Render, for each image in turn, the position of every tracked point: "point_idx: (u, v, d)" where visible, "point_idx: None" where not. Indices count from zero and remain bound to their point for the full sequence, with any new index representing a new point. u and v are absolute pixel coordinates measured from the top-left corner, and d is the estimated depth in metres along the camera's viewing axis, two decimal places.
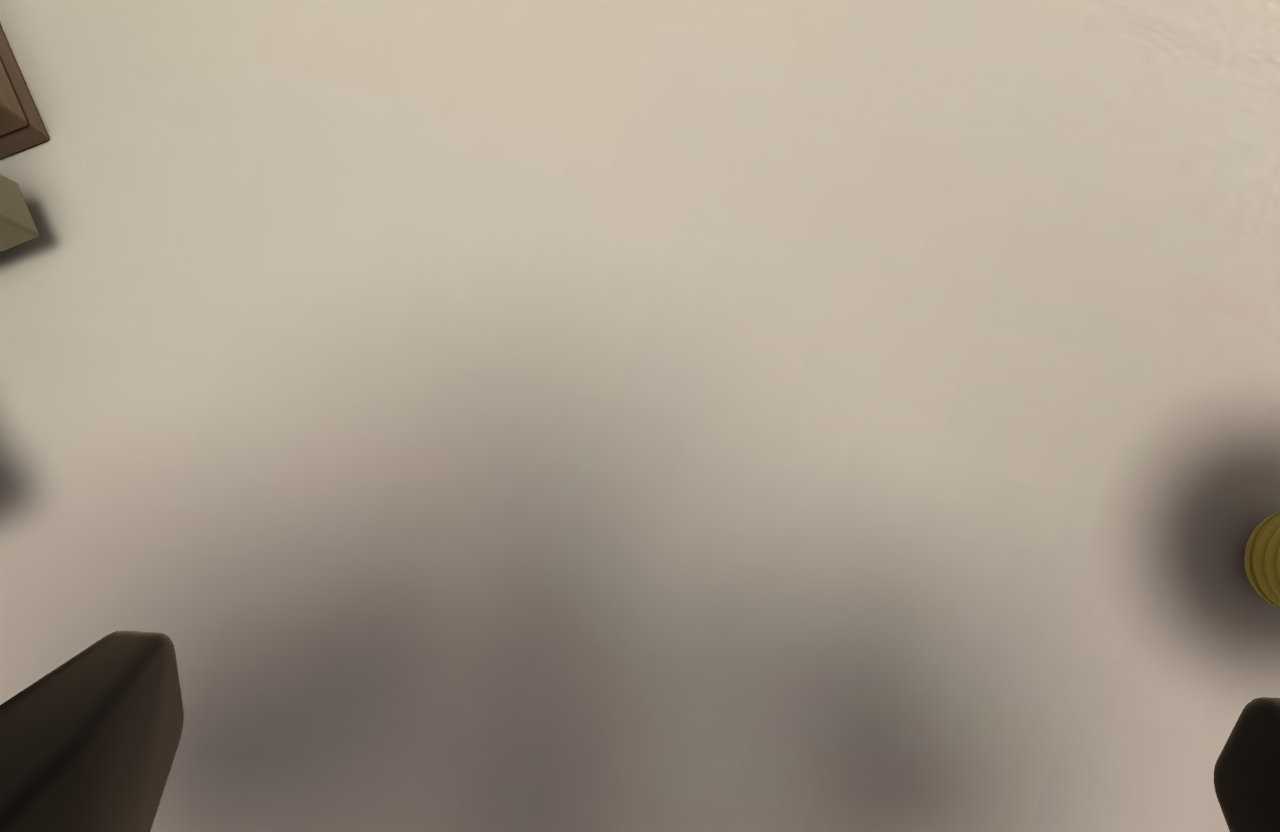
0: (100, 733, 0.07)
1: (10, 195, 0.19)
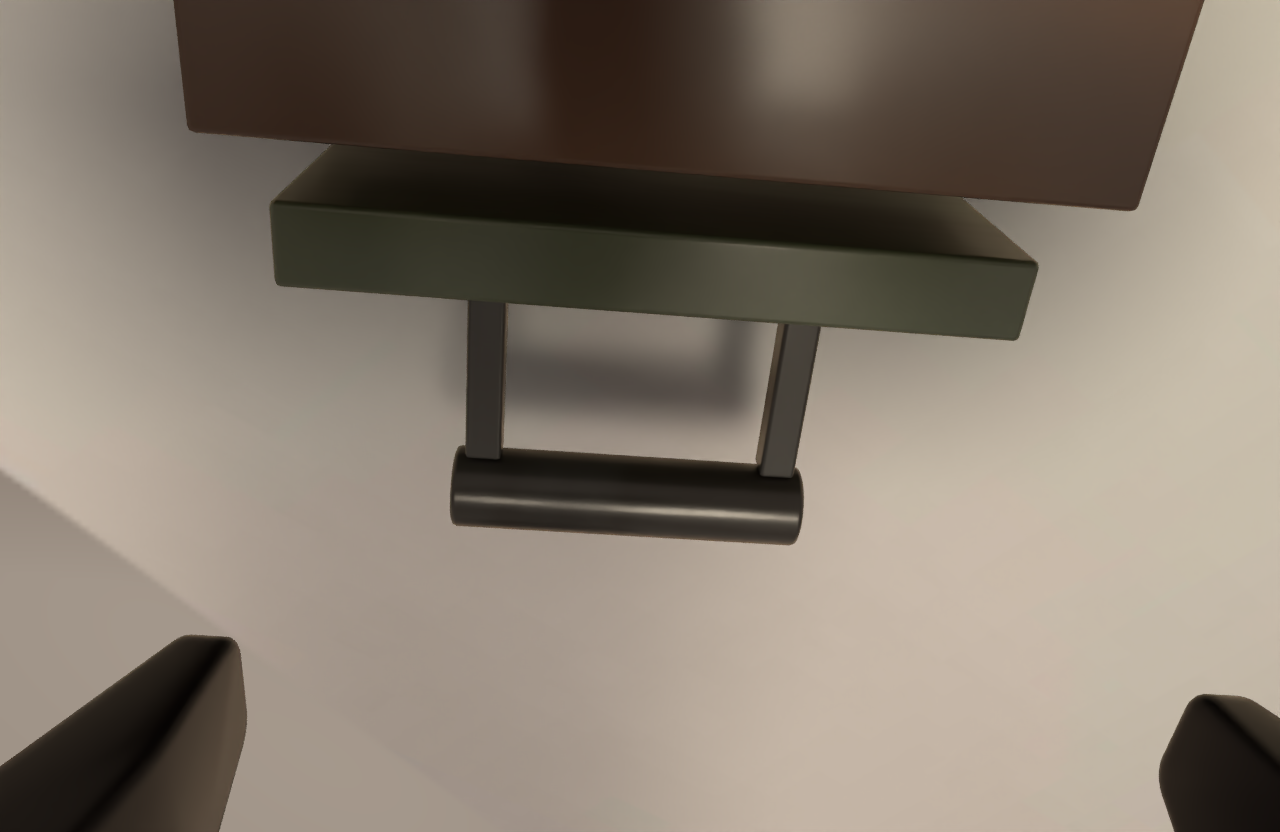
0: (178, 737, 0.07)
1: None
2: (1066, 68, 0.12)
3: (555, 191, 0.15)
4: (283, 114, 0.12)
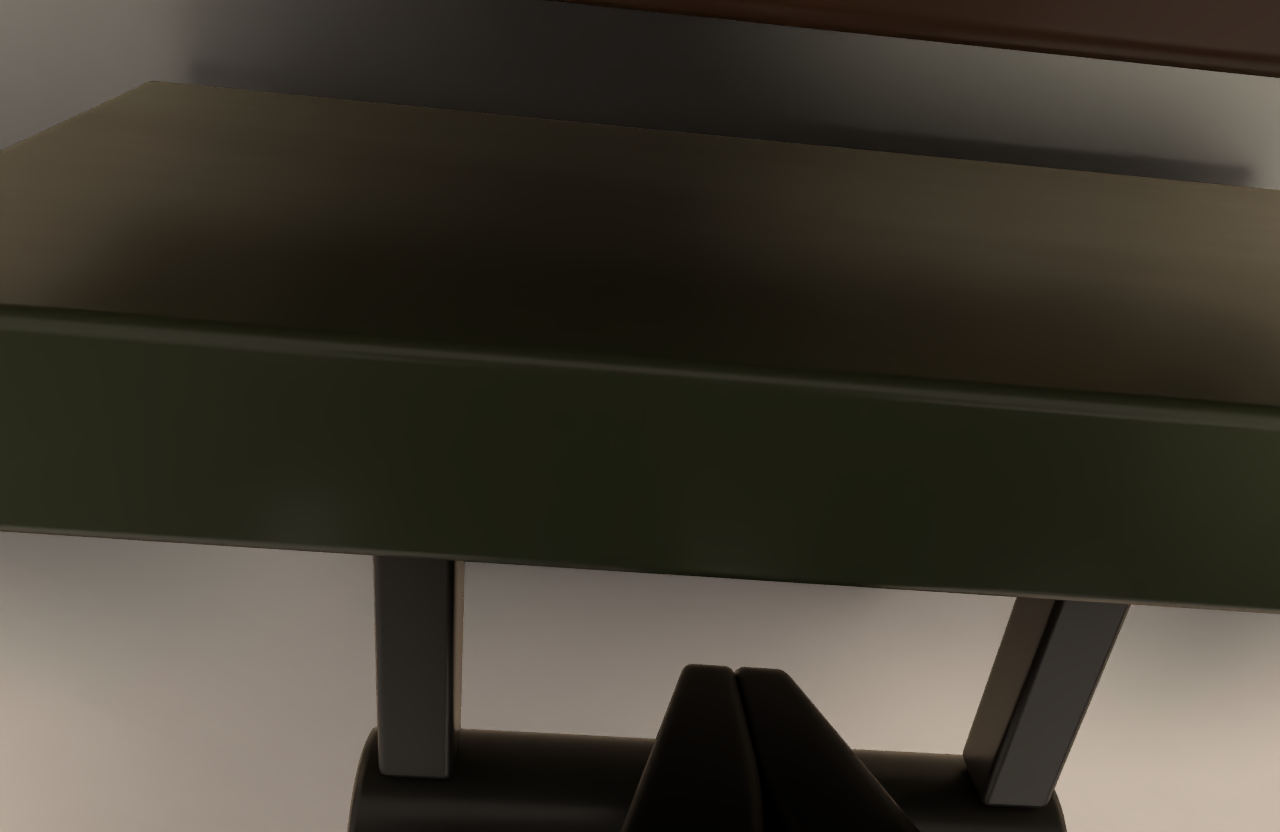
0: None
1: None
2: None
3: (576, 236, 0.06)
4: None
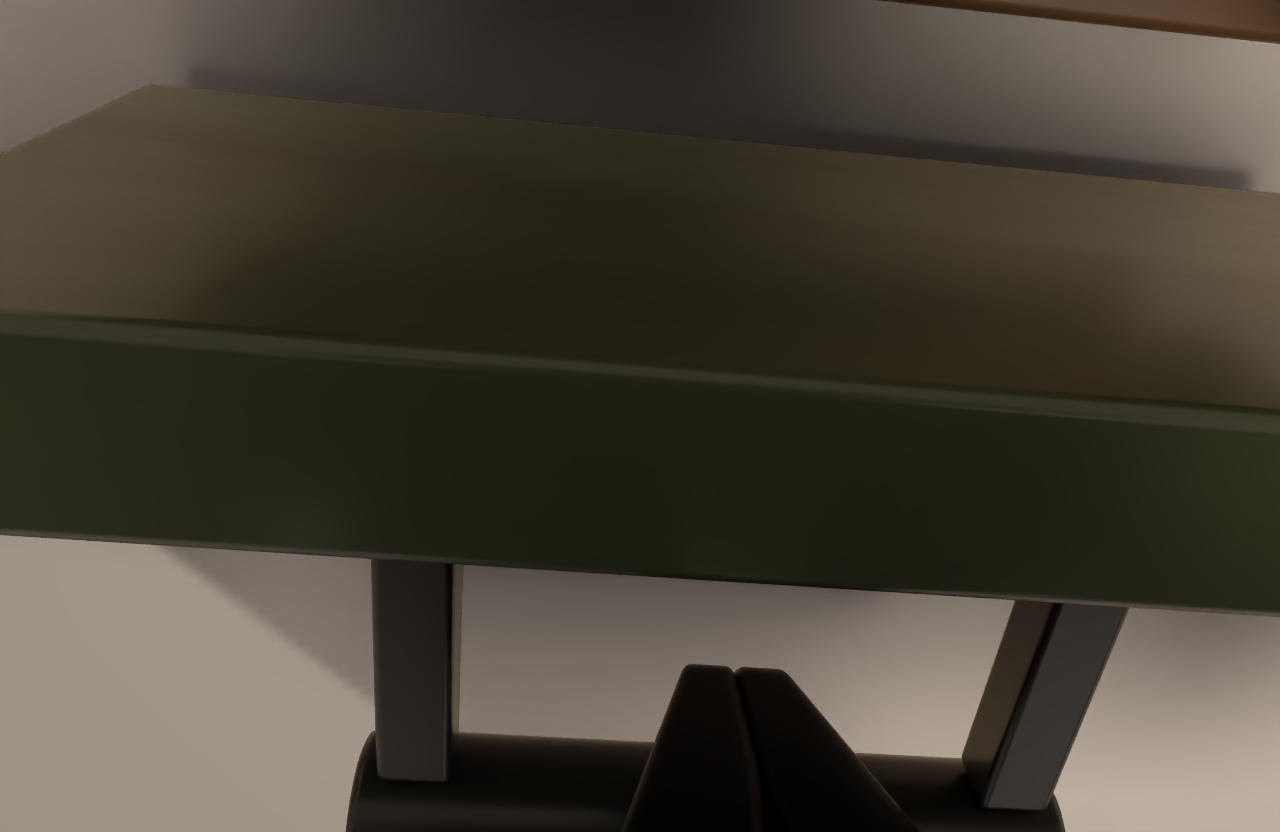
0: None
1: None
2: None
3: (573, 240, 0.06)
4: None
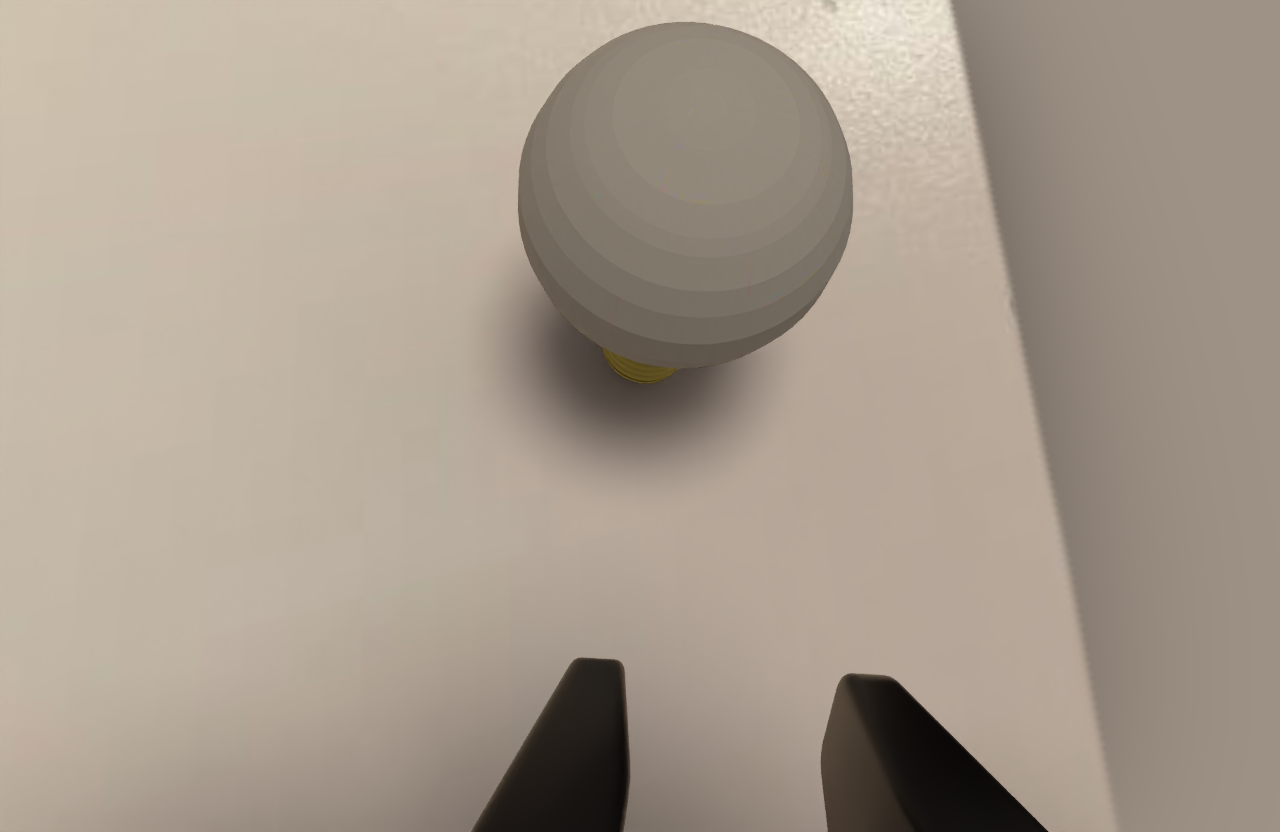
0: (628, 760, 0.07)
1: None
2: None
3: None
4: None
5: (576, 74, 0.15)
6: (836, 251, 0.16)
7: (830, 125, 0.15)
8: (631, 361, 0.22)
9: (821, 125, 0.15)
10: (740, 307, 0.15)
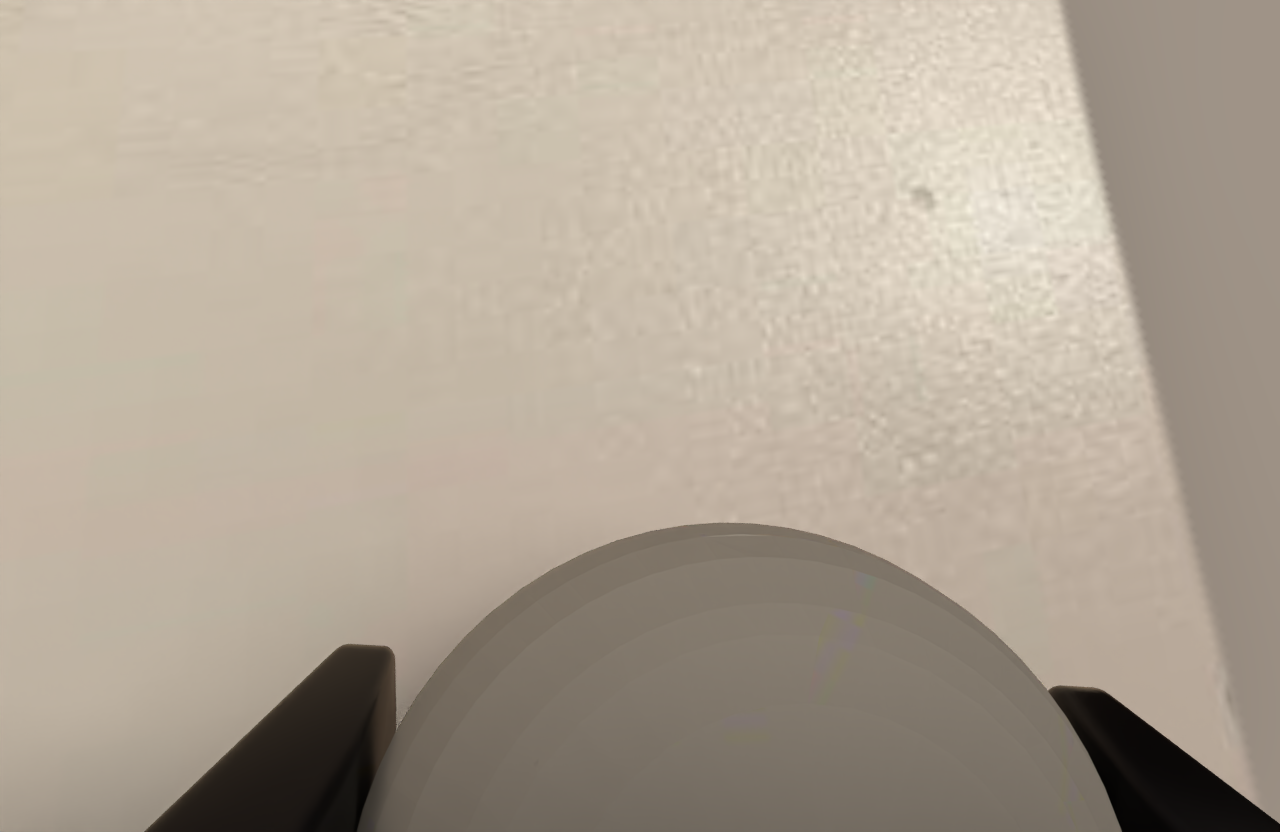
0: (362, 746, 0.07)
1: None
2: None
3: None
4: None
5: (466, 748, 0.06)
6: None
7: None
8: None
9: None
10: None
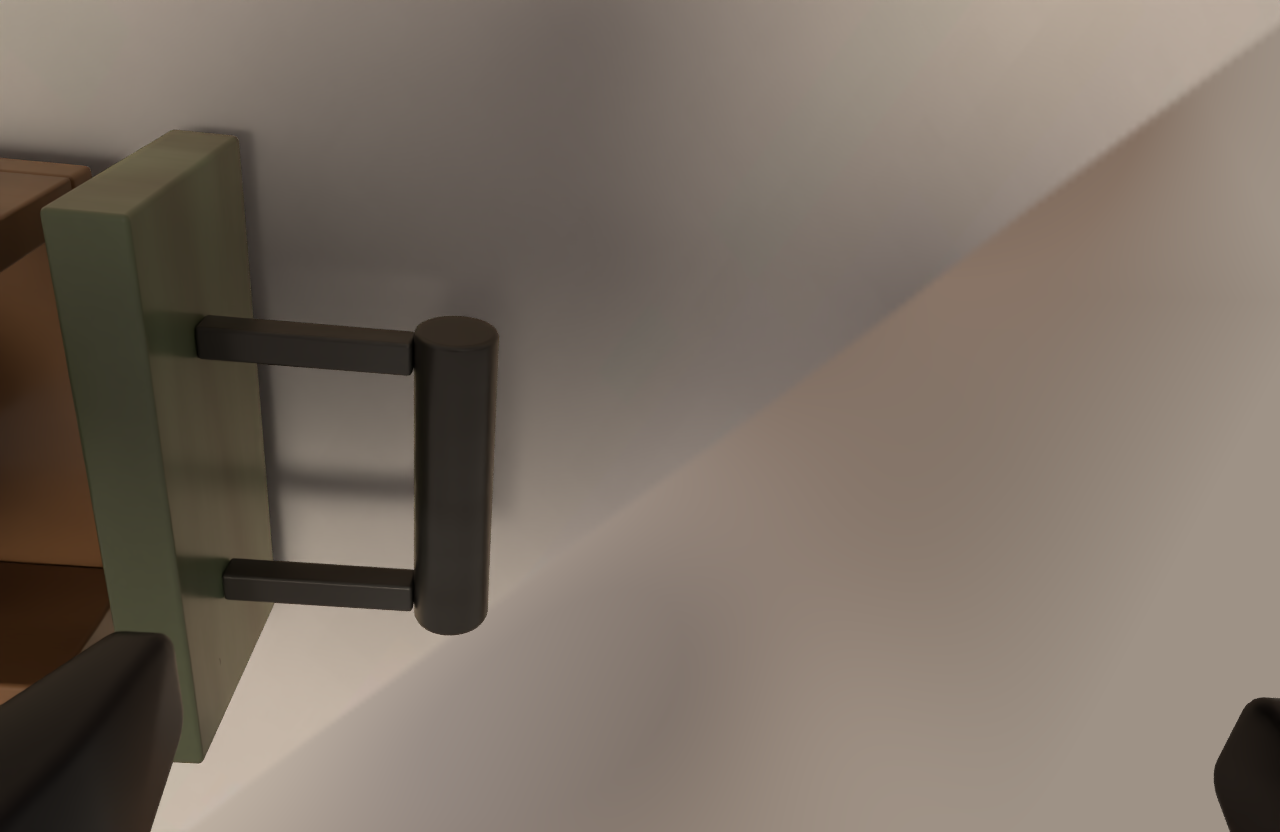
0: (100, 733, 0.07)
1: (186, 139, 0.17)
2: None
3: None
4: None
5: None
6: None
7: None
8: None
9: None
10: None
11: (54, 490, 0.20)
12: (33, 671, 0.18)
